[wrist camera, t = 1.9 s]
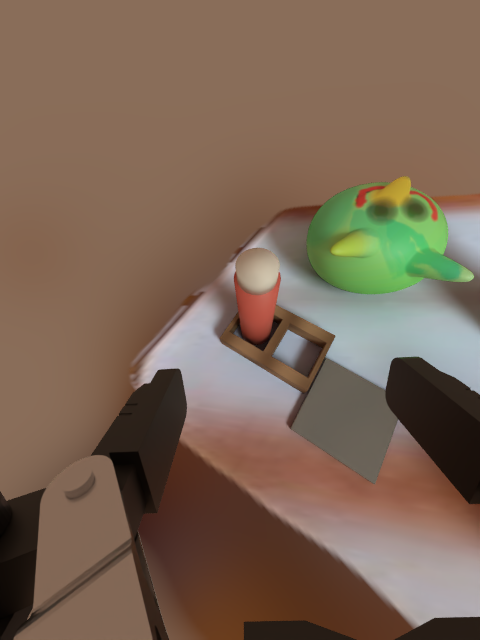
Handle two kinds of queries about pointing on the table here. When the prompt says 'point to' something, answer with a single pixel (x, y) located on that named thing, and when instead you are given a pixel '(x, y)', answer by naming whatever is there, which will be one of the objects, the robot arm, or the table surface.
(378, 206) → the toy bird
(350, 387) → the slate tile
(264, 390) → the table surface
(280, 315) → the caddy
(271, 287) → the pepper mill
